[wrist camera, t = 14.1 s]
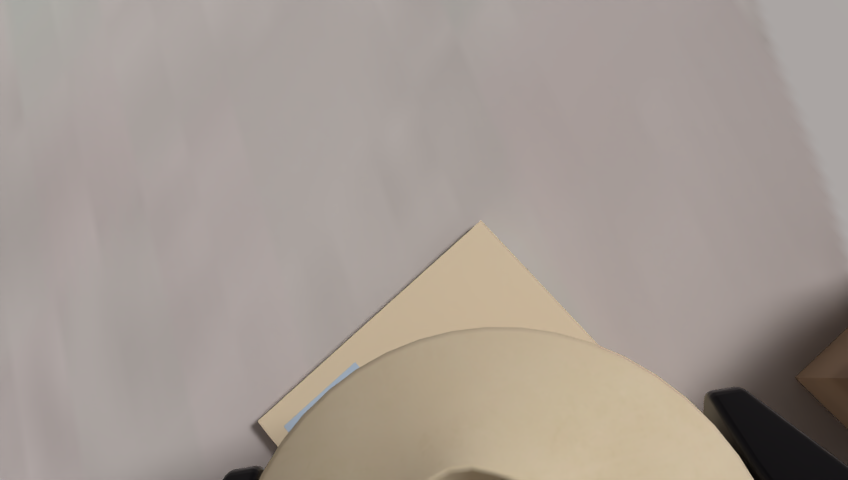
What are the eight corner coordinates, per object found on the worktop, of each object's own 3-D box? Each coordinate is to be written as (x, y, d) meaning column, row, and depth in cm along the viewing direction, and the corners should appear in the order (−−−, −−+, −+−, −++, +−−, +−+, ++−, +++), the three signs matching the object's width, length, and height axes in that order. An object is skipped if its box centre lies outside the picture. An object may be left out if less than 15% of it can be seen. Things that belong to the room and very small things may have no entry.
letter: (764, 523, 16) (769, 526, 15) (524, 750, 15) (524, 758, 15) (481, 222, 17) (480, 220, 17) (261, 420, 17) (257, 421, 17)
